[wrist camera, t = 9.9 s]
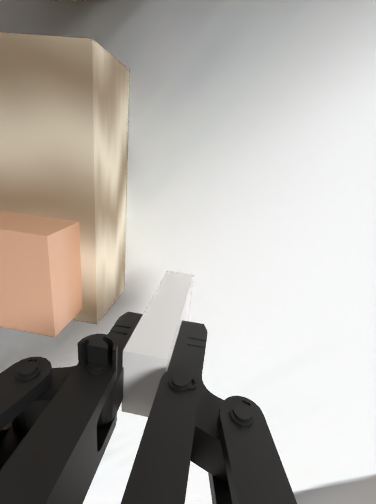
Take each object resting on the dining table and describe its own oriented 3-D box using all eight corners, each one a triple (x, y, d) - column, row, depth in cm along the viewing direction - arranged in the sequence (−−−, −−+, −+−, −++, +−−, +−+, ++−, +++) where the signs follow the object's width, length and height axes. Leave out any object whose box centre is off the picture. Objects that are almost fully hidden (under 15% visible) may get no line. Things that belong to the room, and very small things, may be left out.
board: (-39, 55, 19) (-129, 23, 14) (129, 69, 17) (92, 38, 13) (-5, 267, 24) (-61, 294, 20) (124, 289, 23) (96, 324, 18)
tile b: (-14, 208, 17) (-63, 219, 14) (79, 221, 16) (47, 236, 13) (0, 294, 19) (-40, 318, 16) (82, 308, 18) (55, 337, 15)
